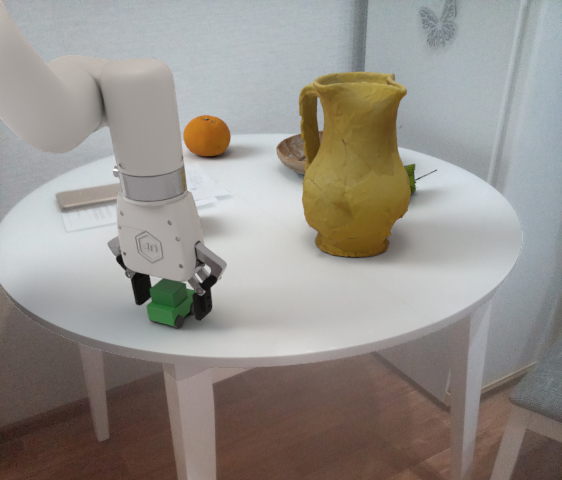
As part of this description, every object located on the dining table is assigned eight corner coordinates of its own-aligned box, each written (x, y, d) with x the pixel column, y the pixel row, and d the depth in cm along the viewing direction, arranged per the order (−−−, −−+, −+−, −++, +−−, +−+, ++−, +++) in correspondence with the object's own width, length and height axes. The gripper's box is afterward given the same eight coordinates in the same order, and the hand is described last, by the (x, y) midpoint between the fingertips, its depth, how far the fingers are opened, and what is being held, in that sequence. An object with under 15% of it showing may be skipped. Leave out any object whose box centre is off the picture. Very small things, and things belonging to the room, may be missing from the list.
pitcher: (319, 270, 85) (328, 88, 70) (286, 227, 100) (288, 68, 85) (421, 258, 89) (450, 83, 74) (375, 218, 103) (391, 64, 89)
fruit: (209, 164, 124) (206, 126, 119) (176, 155, 129) (172, 118, 124) (240, 152, 130) (238, 115, 125) (208, 144, 135) (205, 108, 130)
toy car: (176, 331, 74) (171, 299, 70) (148, 324, 75) (142, 292, 72) (199, 309, 78) (195, 277, 75) (173, 302, 79) (168, 271, 76)
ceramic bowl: (302, 146, 133) (302, 124, 130) (398, 159, 125) (401, 136, 122) (258, 179, 117) (257, 154, 113) (366, 196, 109) (368, 170, 106)
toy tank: (361, 174, 103) (407, 176, 96) (416, 150, 113) (462, 150, 107) (364, 213, 106) (409, 216, 100) (417, 186, 117) (462, 187, 110)
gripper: (72, 182, 65) (104, 308, 76) (201, 204, 59) (215, 337, 70) (113, 162, 70) (137, 282, 81) (234, 181, 64) (243, 307, 75)
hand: (173, 307), depth 75 cm, fingers open, 9 cm apart
